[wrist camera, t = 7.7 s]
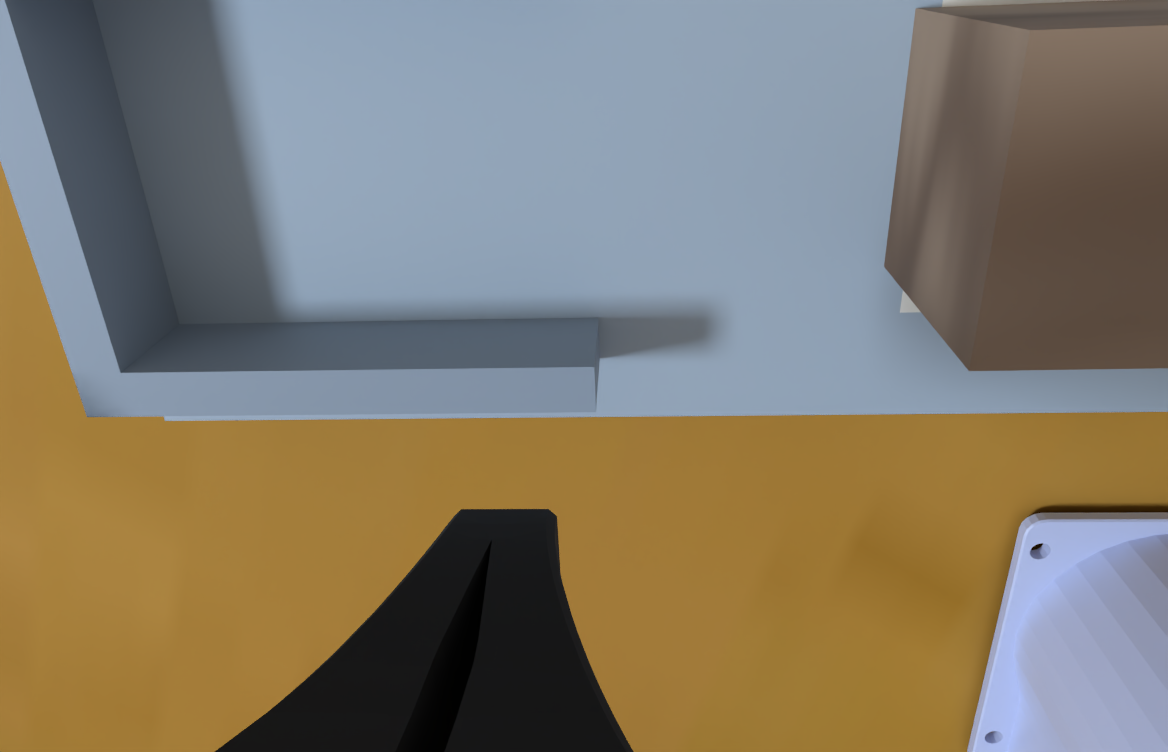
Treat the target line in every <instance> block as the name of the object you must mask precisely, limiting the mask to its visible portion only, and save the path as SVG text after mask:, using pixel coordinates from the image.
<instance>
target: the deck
mask: <svg viewBox="0 0 1168 752" xmlns="http://www.w3.org/2000/svg"><path fill="white" fill-rule="evenodd" d="M1086 1H1111V0H0V161H1V164H2V167H3V170H4V173H5V176H6V179H7V182H8V185H9V188H10V191H11V194H12V197H13V200H14V202H15V205H16V208H17V211H18V214H19V217H20V220H21V223H22V226H23V229H24V232H25V235H26V238H27V241H28V244H29V247H30V250H31V253H32V256H33V259H34V261H35V264H36V267H37V270H38V273H39V276H40V279H41V282H42V285H43V288H44V291H45V294H46V297H47V300H48V303H49V306H50V309H51V312H52V315H53V318H54V321H55V323H56V326H57V329H58V332H59V335H60V338H61V341H62V344H63V347H64V350H65V353H66V356H67V359H68V362H69V365H70V368H71V371H72V374H73V377H74V380H75V382H76V385H77V388H78V391H79V394H80V397H81V400H82V403H83V406H84V409H85V412H86V415H87V417H140V416H164V419H165V421H194V420H303V419H413V418H522V417H632V416H741V415H850V414H960V413H1069V412H1168V368H1155V369H1086V370H1018V371H968V369H967V368H966V367H965V366H964V364H963V363H962V362H961V361H960V360H959V358H958V357H957V356H956V355H955V353H954V352H953V351H952V350H951V348H950V347H949V346H948V345H947V344H946V342H945V341H944V340H943V339H942V337H941V336H940V335H939V334H938V332H937V331H936V330H935V329H934V328H933V326H932V325H931V324H930V323H929V321H928V320H927V319H926V318H925V317H924V315H923V314H922V313H921V312H920V310H919V309H918V308H917V307H916V305H915V304H914V303H913V302H912V301H911V299H910V298H909V297H908V296H907V294H906V293H905V292H904V291H903V289H902V288H901V287H900V286H899V285H898V283H897V282H896V281H895V280H894V278H893V277H892V276H891V275H890V273H889V272H888V271H887V270H886V269H885V267H884V262H885V254H886V246H887V238H888V229H889V221H890V213H891V205H892V197H893V189H894V181H895V172H896V164H897V156H898V148H899V140H900V132H901V123H902V115H903V107H904V99H905V91H906V83H907V75H908V66H909V58H910V50H911V42H912V34H913V26H914V18H915V9H916V8H935V7H960V6H985V5H1010V4H1036V3H1061V2H1086Z"/></svg>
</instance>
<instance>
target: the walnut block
mask: <svg viewBox="0 0 1168 752" xmlns="http://www.w3.org/2000/svg"><path fill="white" fill-rule="evenodd" d="M884 267H885V269H886V270H887V271H888V272H889V273H890V275H891V276H892V277H893V278H894V280H895V281H896V282H897V283H898V285H899V286H900V287H901V288H902V289H903V291H904V292H905V293H906V294H907V296H908V297H909V298H910V299H911V301H912V302H913V303H914V304H915V305H916V307H917V308H918V309H919V310H920V312H921V313H922V314H923V315H924V317H925V318H926V319H927V320H928V321H929V323H930V324H931V325H932V326H933V328H934V329H935V330H936V331H937V332H938V334H939V335H940V336H941V337H942V339H943V340H944V341H945V342H946V344H947V345H948V346H949V347H950V348H951V350H952V351H953V352H954V353H955V355H956V356H957V357H958V358H959V360H960V361H961V362H962V363H963V364H964V366H965V367H966V368H967V369H968V371H1018V370H1086V369H1155V368H1168V0H1111V1H1086V2H1061V3H1036V4H1010V5H985V6H960V7H935V8H916V9H915V18H914V26H913V34H912V42H911V50H910V58H909V66H908V75H907V83H906V91H905V99H904V107H903V115H902V123H901V132H900V140H899V148H898V156H897V164H896V172H895V181H894V189H893V197H892V205H891V213H890V221H889V229H888V238H887V246H886V254H885V262H884Z"/></svg>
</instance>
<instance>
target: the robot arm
mask: <svg viewBox="0 0 1168 752" xmlns="http://www.w3.org/2000/svg"><path fill="white" fill-rule="evenodd" d="M1041 543H1043V545H1042V546H1041V547H1040V548H1038V549H1035V550H1031V549H1032V547H1034V546H1035V545H1037V544H1041ZM989 732H990V733H989ZM215 752H633V750H632V749H631V747H630V745H629V743H628V741H627V740H626V738H625V736H624V734H623V732H622V730H621V728H620V726H619V725H618V723H617V721H616V719H615V717H614V715H613V713H612V711H611V709H610V707H609V705H608V703H607V701H606V699H605V697H604V695H603V693H602V691H601V689H600V686H599V684H598V682H597V680H596V677H595V675H594V673H593V671H592V668H591V666H590V663H589V661H588V659H587V656H586V653H585V651H584V648H583V646H582V643H581V640H580V638H579V635H578V633H577V630H576V627H575V624H574V621H573V618H572V615H571V611H570V608H569V605H568V601H567V598H566V594H565V591H564V587H563V584H562V580H561V575H560V560H559V544H558V527H557V516H556V515H555V514H553V513H552V512H551V511H550V510H549V509H461V510H460V511H459V512H458V513H457V514H456V515H455V516H454V517H453V518H452V520H451V521H450V522H449V523H448V525H447V526H446V527H445V529H444V530H443V531H442V532H441V534H440V535H439V536H438V538H437V539H436V540H435V541H434V543H433V544H432V545H431V546H430V548H429V549H428V550H427V551H426V553H425V554H424V555H423V556H422V557H421V559H420V560H419V561H418V562H417V564H416V565H415V566H414V567H413V568H412V570H411V571H410V572H409V573H408V574H407V575H406V577H405V578H404V579H403V580H402V581H401V582H400V583H399V585H398V586H397V587H396V588H395V589H394V590H393V592H392V593H391V594H390V595H389V596H388V597H387V598H386V600H385V601H384V602H383V603H382V604H381V605H380V606H379V607H378V608H377V610H376V611H375V612H374V613H373V614H372V615H371V616H370V617H369V618H368V619H367V620H366V621H365V622H364V623H363V624H362V625H361V626H360V627H359V628H358V629H357V630H356V631H355V632H354V633H353V634H352V635H351V637H350V638H349V639H348V640H347V641H346V642H345V643H344V644H343V645H342V646H341V647H340V648H339V649H338V650H337V651H336V652H335V653H334V654H333V655H332V656H331V657H330V658H329V659H328V660H326V661H325V662H324V663H323V664H322V665H321V666H320V667H319V668H318V669H317V670H316V671H315V672H314V673H313V674H311V675H310V676H309V677H308V678H307V679H306V680H305V681H304V682H303V683H301V684H300V685H299V686H298V687H297V688H296V689H295V690H293V691H292V692H291V693H290V694H289V695H288V696H286V697H285V698H284V699H283V700H282V701H281V702H279V703H278V704H277V705H276V706H275V707H273V708H272V709H271V710H270V711H268V712H267V713H266V714H265V715H263V716H262V717H261V718H259V719H258V720H257V721H255V722H254V723H253V724H251V725H250V726H249V727H247V728H246V729H245V730H243V731H242V732H241V733H239V734H238V735H237V736H235V737H234V738H233V739H231V740H230V741H228V742H227V743H226V744H224V745H223V746H222V747H220V748H219V749H218V750H216V751H215ZM967 752H1168V512H1132V513H1037V514H1033V515H1031V516H1029V517H1027V518H1026V519H1025V520H1024V521H1023V522H1022V523H1021V525H1020V528H1019V531H1018V535H1017V540H1016V544H1015V548H1014V553H1013V557H1012V561H1011V565H1010V570H1009V574H1008V578H1007V582H1006V587H1005V591H1004V595H1003V600H1002V604H1001V608H1000V612H999V617H998V621H997V625H996V630H995V634H994V638H993V642H992V647H991V651H990V655H989V660H988V664H987V668H986V672H985V677H984V681H983V685H982V690H981V694H980V698H979V702H978V707H977V711H976V715H975V720H974V724H973V728H972V732H971V737H970V741H969V745H968V750H967Z"/></svg>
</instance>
